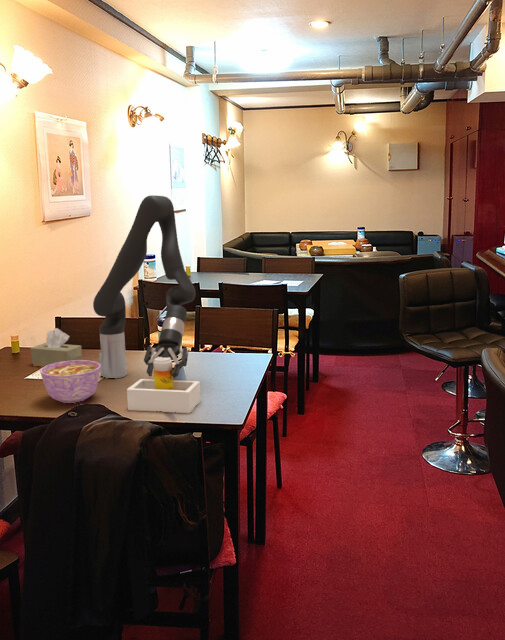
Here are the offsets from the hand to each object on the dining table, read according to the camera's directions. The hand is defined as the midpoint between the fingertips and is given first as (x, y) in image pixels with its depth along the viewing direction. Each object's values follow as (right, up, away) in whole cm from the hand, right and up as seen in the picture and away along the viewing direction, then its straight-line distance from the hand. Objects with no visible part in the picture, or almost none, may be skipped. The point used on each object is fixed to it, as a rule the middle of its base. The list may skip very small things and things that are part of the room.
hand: (161, 375), depth 208 cm
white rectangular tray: (0, -10, +3) cm, 11 cm away
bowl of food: (-32, -10, +11) cm, 35 cm away
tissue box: (-52, -1, +57) cm, 77 cm away
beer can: (0, -9, +3) cm, 10 cm away
